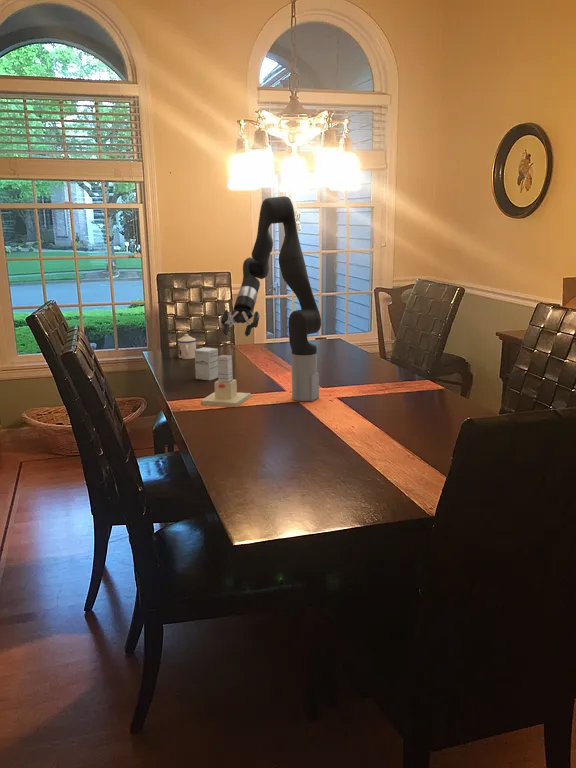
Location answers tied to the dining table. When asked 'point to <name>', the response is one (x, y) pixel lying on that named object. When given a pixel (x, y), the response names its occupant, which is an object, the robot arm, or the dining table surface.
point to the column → (225, 368)
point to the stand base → (226, 395)
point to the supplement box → (206, 363)
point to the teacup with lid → (187, 347)
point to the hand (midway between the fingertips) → (235, 334)
